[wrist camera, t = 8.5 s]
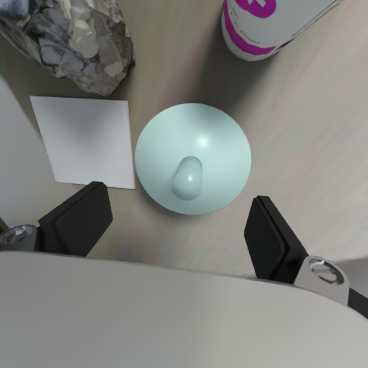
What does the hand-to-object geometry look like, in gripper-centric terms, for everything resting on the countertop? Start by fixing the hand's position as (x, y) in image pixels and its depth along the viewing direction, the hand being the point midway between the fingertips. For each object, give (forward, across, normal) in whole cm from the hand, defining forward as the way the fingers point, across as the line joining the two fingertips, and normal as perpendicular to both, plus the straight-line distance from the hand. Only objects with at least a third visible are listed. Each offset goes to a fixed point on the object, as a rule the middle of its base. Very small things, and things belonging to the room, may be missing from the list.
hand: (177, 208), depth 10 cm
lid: (+11, 0, +1) cm, 11 cm away
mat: (+17, +17, +1) cm, 24 cm away
